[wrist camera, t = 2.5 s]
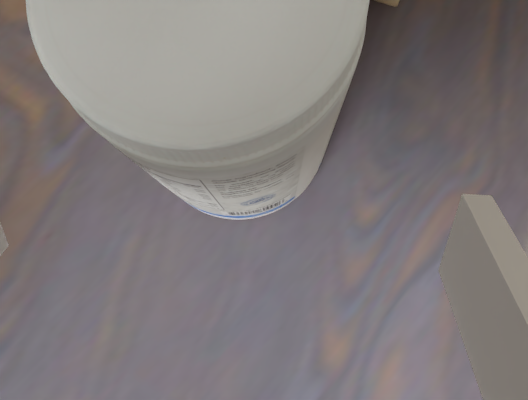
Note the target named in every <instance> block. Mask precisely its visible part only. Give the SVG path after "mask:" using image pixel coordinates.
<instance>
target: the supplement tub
mask: <svg viewBox="0 0 528 400" xmlns="http://www.w3.org/2000/svg"><path fill="white" fill-rule="evenodd" d="M369 2H370V0H26V9H27V19H28V25H29V29H30V33H31V37H32V41H33V44H34V46H35V49H36V52H37V54H38V56H39V59H40V61H41V63H42V65H43V67H44V68H45V70H46V72H47V73H48V75H49V77H50V78H51V80H52V82H53V83H54V84H55V86H56V87H57V88H58V89H59V90H60V92H61V93H62V94H63V95H64V96H65V97H66V99H67V100H68V101H69V102H70V104H71V105H72V107H73V108H74V109H75V110H76V112H77V113H78V114H79V115H80V116H81V117H82V118H83V119H84V120H85V121H86V123H87V124H88V125H89V126H91V127H92V128H93V129H94V130H95V131H96V132H98V133H99V134H100V135H101V136H103V137H104V138H105V139H106V140H107V141H108V142H110V143H111V144H112V145H113V146H114V147H116V148H117V149H118V150H119V151H120V152H122V153H123V154H124V155H125V156H127V157H128V158H129V159H131V160H132V161H133V162H134V163H136V164H137V165H138V166H140V167H141V168H142V169H144V170H145V171H146V172H147V173H149V174H150V175H151V176H152V177H154V178H155V179H156V180H157V181H159V182H160V183H161V184H162V185H163V186H165V187H166V188H168V189H169V190H170V191H171V192H173V193H174V194H175V195H177V196H178V197H179V198H181V199H182V200H183V201H185V202H186V203H188V204H189V205H190V206H192V207H194V208H195V209H197V210H199V211H201V212H204V213H206V214H209V215H212V216H216V217H220V218H225V219H233V220H244V219H252V218H257V217H261V216H265V215H268V214H270V213H273V212H275V211H277V210H280V209H281V208H283V207H285V206H286V205H288V204H289V203H291V202H292V201H293V200H295V199H296V198H297V197H298V196H299V195H300V194H302V193H303V191H304V190H305V189H306V188H307V187H308V185H309V184H310V182H311V181H312V179H313V178H314V176H315V174H316V173H317V171H318V169H319V166H320V164H321V162H322V159H323V157H324V154H325V151H326V149H327V146H328V143H329V140H330V138H331V135H332V132H333V129H334V127H335V124H336V121H337V118H338V116H339V113H340V110H341V108H342V105H343V102H344V99H345V97H346V94H347V91H348V89H349V86H350V83H351V80H352V78H353V75H354V72H355V69H356V66H357V63H358V60H359V57H360V54H361V50H362V46H363V42H364V37H365V30H366V21H367V13H368V7H369Z"/></svg>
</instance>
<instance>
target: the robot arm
mask: <svg viewBox="0 0 528 400" xmlns="http://www.w3.org/2000/svg"><path fill="white" fill-rule="evenodd" d="M8 246H9V245H8V242H7V239H6V237H5V234H4V231H3V229H2V226H1V223H0V256H1V255H2V254H3V252H4V251H5V250H6V248H7V247H8ZM439 273H440V276H441V279H442V282H443V285H444V288H445V291H446V294H447V297H448V299H449V302H450V305H451V308H452V311H453V314H454V317H455V320H456V323H457V326H458V329H459V331H460V334H461V337H462V340H463V343H464V346H465V349H466V352H467V355H468V358H469V360H470V363H471V366H472V369H473V372H474V375H475V378H476V381H477V384H478V387H479V390H480V392H481V395H482V398H483V400H528V257H527V255H526V254H525V252H524V250H523V248H522V247H521V245H520V243H519V242H518V240H517V238H516V236H515V235H514V233H513V231H512V230H511V228H510V226H509V224H508V223H507V221H506V219H505V218H504V216H503V214H502V213H501V211H500V209H499V207H498V206H497V204H496V202H495V201H494V199H493V197H492V195H474V194H462V196H461V200H460V203H459V206H458V209H457V212H456V216H455V219H454V222H453V225H452V228H451V232H450V235H449V238H448V241H447V245H446V248H445V251H444V254H443V257H442V261H441V264H440V267H439Z"/></svg>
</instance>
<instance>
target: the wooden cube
mask: <svg viewBox="0 0 528 400" xmlns="http://www.w3.org/2000/svg"><path fill="white" fill-rule="evenodd" d="M373 1H377V2H380V3H384V4H388V5H391V6H395V7H397V6H398V3H399V1H400V0H373Z"/></svg>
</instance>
